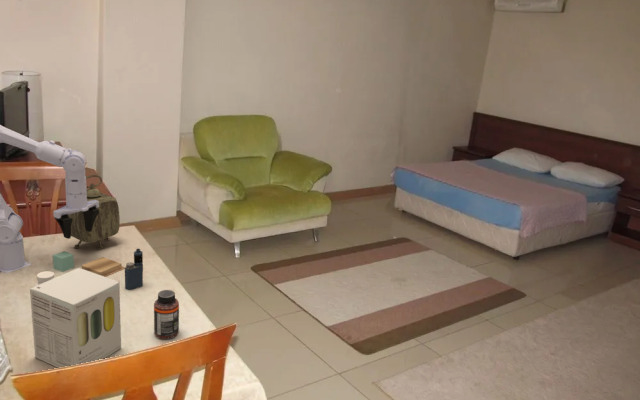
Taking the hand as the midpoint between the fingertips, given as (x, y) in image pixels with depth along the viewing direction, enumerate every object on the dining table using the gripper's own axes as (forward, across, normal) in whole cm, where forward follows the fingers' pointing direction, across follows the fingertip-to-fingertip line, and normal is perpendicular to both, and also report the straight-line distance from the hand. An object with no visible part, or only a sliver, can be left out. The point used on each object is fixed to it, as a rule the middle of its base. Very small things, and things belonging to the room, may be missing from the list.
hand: (78, 234), depth 161 cm
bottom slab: (+11, 0, -9) cm, 14 cm away
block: (+10, -6, 0) cm, 11 cm away
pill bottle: (+10, -23, -16) cm, 29 cm away
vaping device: (+10, -2, -25) cm, 27 cm away
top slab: (+9, +1, -9) cm, 13 cm away
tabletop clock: (+10, +12, +6) cm, 16 cm away
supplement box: (+10, -31, -39) cm, 51 cm away
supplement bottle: (+10, -14, -49) cm, 52 cm away
